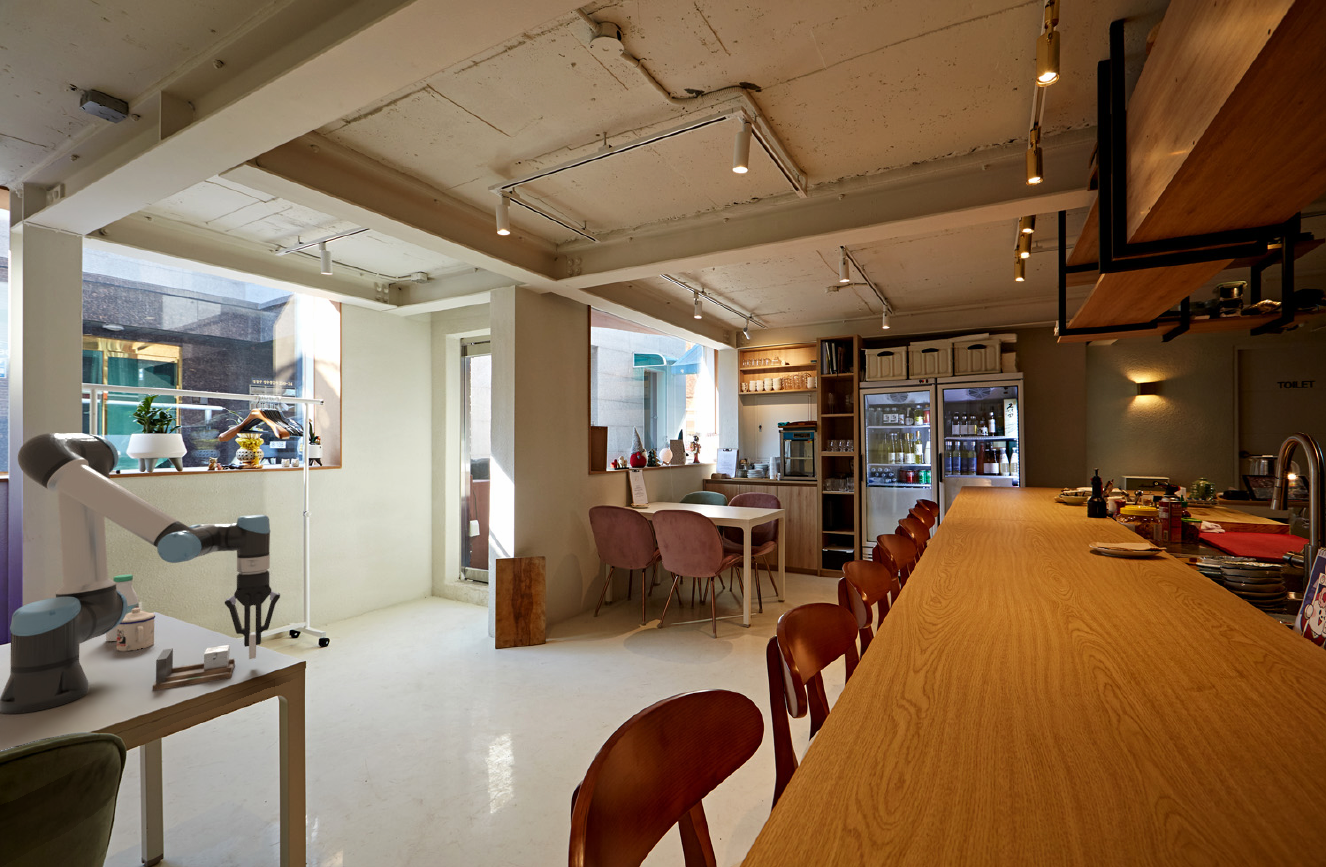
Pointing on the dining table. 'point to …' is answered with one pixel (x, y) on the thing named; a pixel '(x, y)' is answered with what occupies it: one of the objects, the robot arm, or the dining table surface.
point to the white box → (216, 657)
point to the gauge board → (185, 672)
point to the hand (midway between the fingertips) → (252, 657)
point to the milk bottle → (132, 599)
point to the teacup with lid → (135, 631)
